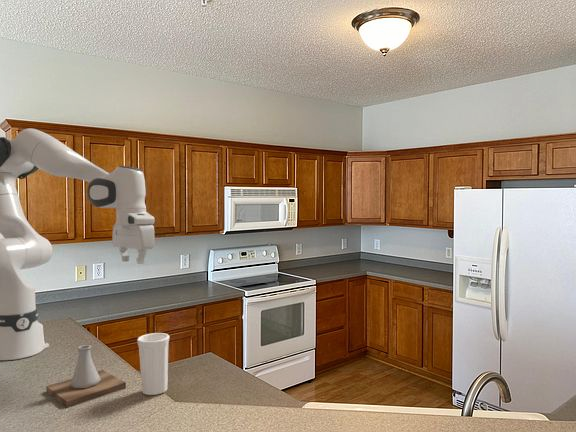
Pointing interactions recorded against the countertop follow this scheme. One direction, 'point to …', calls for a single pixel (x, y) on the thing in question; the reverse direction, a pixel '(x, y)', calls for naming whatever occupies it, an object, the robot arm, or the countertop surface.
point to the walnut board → (85, 390)
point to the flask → (85, 370)
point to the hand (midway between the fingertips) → (132, 262)
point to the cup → (154, 362)
